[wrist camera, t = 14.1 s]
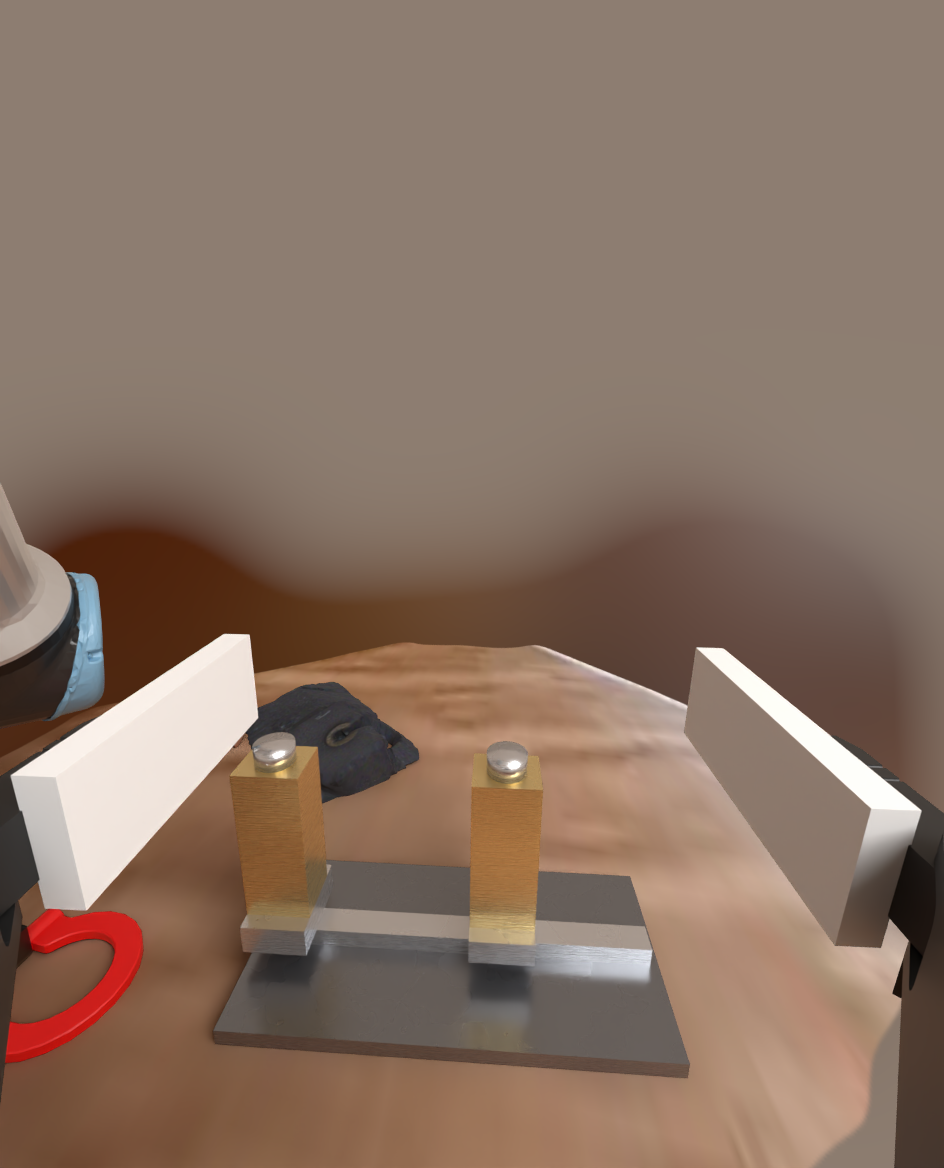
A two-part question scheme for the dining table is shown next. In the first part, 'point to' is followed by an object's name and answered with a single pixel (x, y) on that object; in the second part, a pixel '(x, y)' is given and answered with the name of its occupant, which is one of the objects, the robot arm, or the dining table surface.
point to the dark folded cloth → (337, 737)
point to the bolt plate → (427, 951)
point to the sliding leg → (504, 855)
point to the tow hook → (65, 1026)
